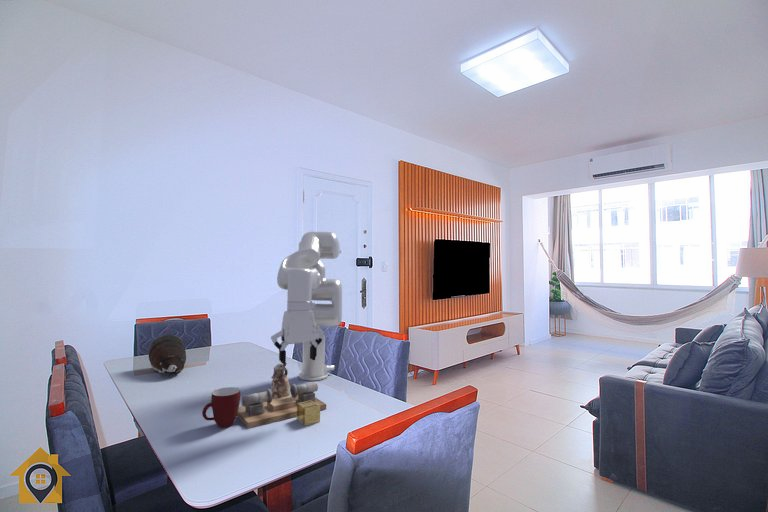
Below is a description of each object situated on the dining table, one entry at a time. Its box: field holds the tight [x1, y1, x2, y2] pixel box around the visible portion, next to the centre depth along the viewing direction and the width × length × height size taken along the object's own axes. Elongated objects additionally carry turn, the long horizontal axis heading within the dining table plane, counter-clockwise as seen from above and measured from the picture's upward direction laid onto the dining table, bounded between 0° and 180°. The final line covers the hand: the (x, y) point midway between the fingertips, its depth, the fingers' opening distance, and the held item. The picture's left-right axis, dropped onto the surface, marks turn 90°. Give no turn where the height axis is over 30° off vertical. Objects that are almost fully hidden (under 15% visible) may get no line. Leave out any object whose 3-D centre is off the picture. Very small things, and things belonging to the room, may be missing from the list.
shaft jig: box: [236, 381, 327, 429], centre depth 124 cm, size 26×14×8 cm, turn 127°
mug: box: [201, 386, 241, 429], centre depth 112 cm, size 10×8×10 cm
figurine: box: [270, 362, 291, 400], centre depth 138 cm, size 7×7×12 cm
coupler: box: [296, 400, 321, 427], centre depth 117 cm, size 6×5×5 cm
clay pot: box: [148, 334, 187, 376], centre depth 166 cm, size 15×15×25 cm
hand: (298, 361), depth 119 cm, fingers open, 9 cm apart
